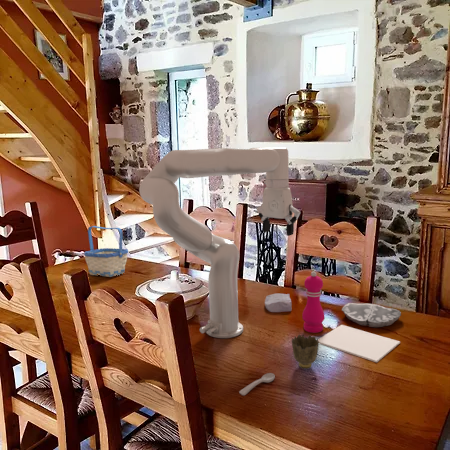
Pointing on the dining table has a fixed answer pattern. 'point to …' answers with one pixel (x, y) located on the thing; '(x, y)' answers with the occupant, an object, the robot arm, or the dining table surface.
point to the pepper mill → (313, 304)
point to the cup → (305, 350)
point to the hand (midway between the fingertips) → (278, 233)
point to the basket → (106, 257)
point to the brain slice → (370, 314)
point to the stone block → (278, 303)
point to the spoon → (265, 378)
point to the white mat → (358, 343)
